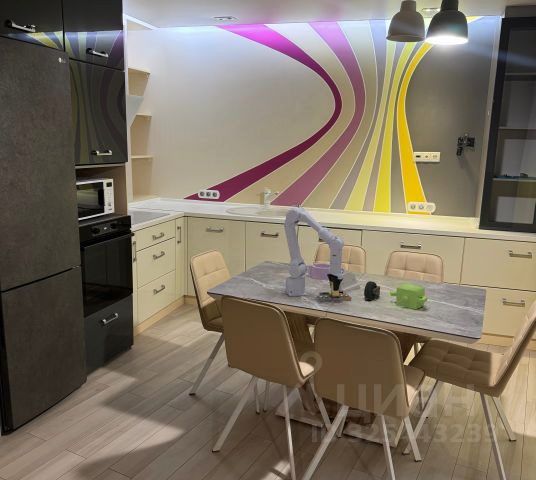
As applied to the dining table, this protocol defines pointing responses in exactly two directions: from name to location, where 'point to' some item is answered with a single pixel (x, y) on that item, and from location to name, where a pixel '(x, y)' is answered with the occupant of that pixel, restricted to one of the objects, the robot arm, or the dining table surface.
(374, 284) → the caster wheel
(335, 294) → the pin
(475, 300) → the dining table surface
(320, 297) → the chain end left
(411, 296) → the gearbox
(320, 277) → the purple oblong basket
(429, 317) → the dining table surface
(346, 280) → the off-white striped device
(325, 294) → the gray square frame
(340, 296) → the chain end right
